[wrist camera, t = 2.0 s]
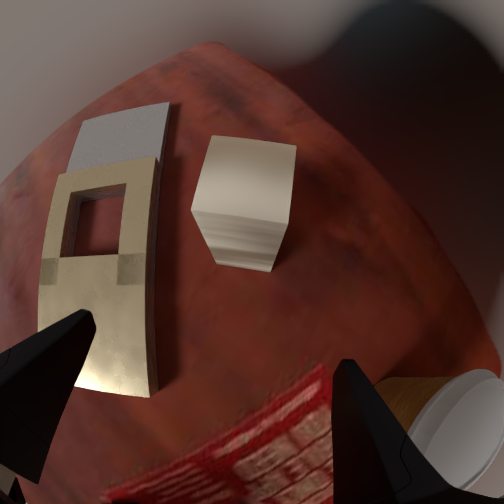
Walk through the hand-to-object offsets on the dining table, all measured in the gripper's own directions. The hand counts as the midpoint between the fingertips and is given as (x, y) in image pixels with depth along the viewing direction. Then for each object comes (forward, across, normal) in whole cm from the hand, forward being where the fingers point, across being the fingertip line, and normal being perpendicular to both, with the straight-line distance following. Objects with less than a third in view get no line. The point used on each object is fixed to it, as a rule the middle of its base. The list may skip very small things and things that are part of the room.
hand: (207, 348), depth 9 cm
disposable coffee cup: (+6, -15, +14) cm, 21 cm away
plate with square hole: (+15, +14, +4) cm, 21 cm away
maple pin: (+15, 0, +4) cm, 16 cm away
